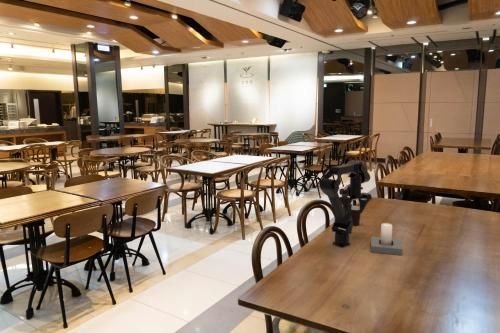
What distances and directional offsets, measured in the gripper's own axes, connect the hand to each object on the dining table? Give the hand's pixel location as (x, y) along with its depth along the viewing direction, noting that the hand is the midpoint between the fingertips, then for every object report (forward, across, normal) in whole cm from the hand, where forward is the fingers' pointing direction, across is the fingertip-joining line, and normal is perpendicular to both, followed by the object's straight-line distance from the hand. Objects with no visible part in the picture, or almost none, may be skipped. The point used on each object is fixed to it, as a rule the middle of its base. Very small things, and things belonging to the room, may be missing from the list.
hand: (354, 214), depth 197 cm
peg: (+13, -2, +19) cm, 23 cm away
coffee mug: (+13, -18, -17) cm, 28 cm away
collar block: (+13, -2, +19) cm, 23 cm away
